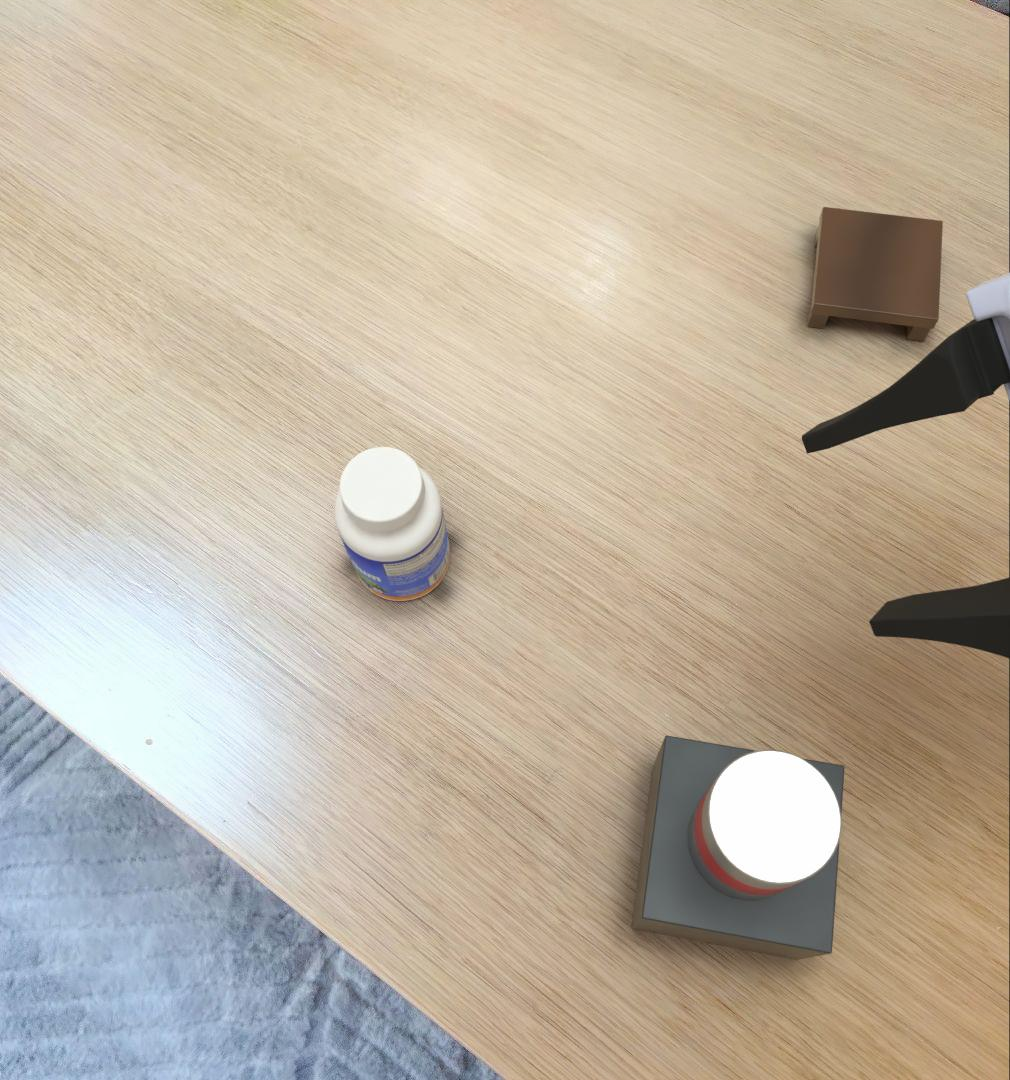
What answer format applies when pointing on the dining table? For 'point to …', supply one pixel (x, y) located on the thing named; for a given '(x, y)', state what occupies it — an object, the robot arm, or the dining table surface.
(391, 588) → the pill bottle
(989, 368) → the robot arm
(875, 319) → the stool
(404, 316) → the dining table surface
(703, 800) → the can
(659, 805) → the square coaster
